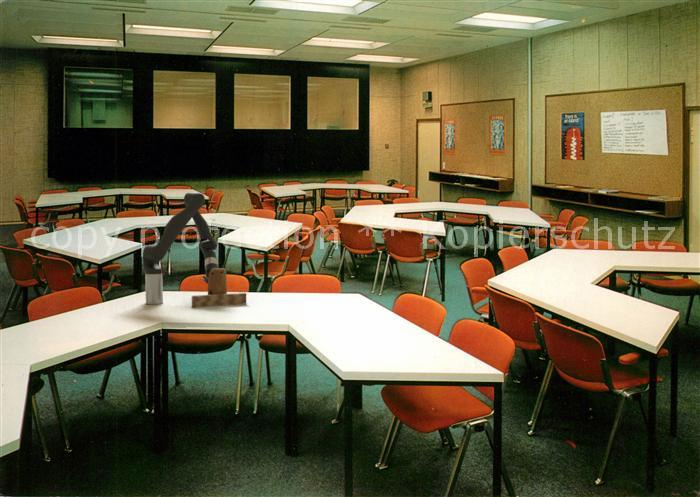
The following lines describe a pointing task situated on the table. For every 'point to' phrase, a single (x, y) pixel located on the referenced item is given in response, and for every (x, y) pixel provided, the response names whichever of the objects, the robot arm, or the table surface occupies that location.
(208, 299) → the board
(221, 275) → the block
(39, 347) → the table surface
